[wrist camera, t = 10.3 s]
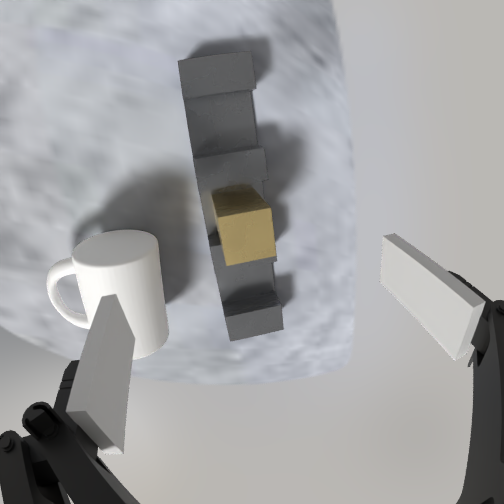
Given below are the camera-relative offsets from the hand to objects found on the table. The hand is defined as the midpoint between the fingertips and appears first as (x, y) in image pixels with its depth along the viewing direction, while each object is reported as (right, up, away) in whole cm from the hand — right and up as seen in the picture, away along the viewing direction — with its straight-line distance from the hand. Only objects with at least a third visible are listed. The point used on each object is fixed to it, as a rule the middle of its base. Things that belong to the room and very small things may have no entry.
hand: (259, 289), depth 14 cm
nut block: (-2, +6, +16) cm, 17 cm away
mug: (-15, -1, +16) cm, 22 cm away
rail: (-2, +6, +16) cm, 17 cm away
